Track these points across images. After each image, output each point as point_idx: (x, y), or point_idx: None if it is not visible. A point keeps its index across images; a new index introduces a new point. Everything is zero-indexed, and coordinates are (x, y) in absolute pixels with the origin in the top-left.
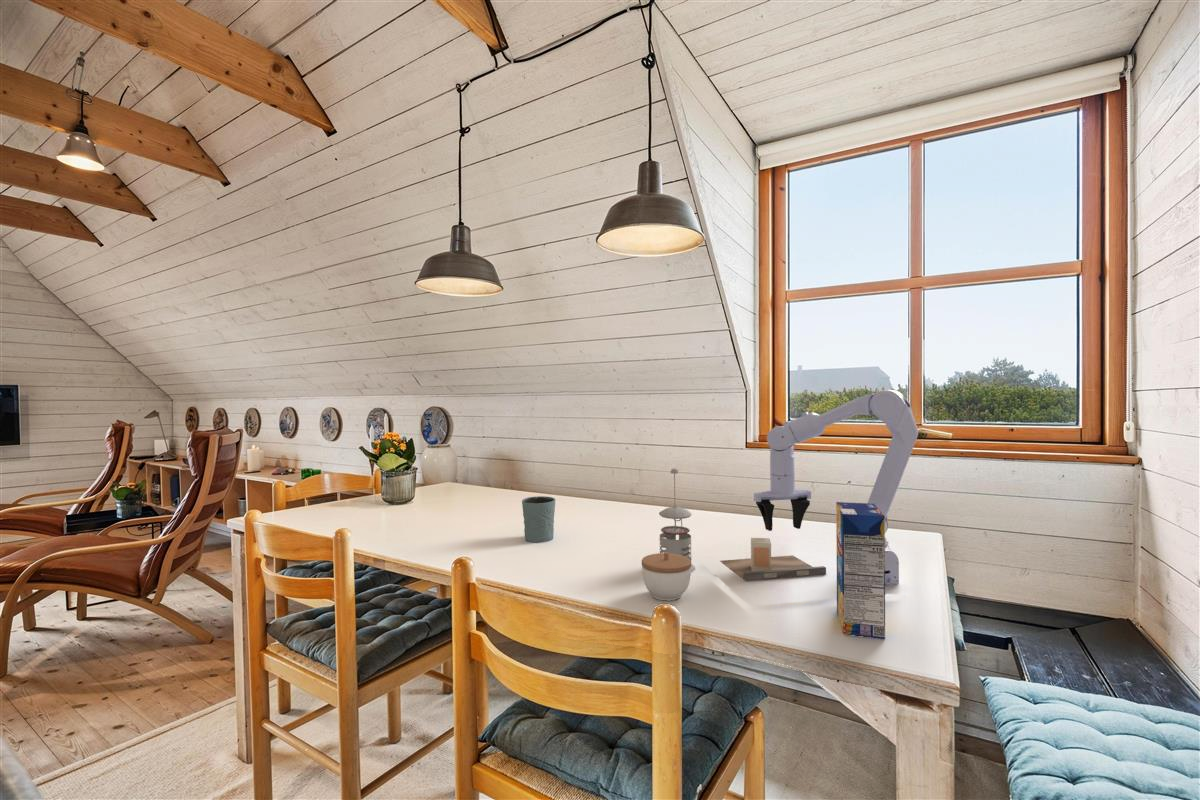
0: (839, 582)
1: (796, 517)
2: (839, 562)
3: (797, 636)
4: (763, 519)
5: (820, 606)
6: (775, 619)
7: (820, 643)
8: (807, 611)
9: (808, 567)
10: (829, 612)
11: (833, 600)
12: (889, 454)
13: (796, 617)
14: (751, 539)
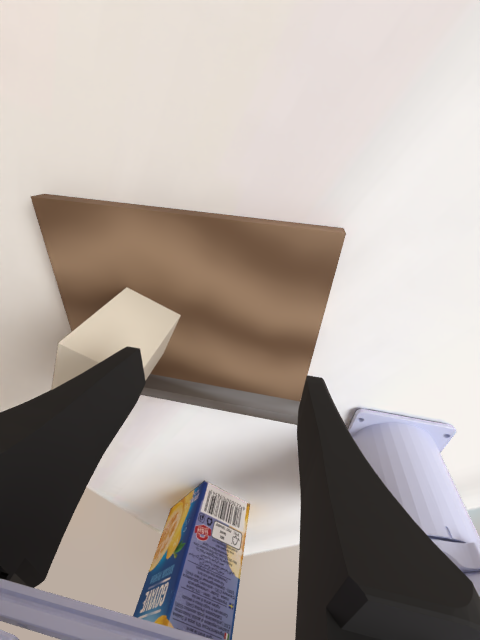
0: (165, 565)
1: (306, 454)
2: (149, 613)
3: (116, 491)
4: (79, 377)
5: (191, 463)
6: (105, 461)
7: (135, 505)
8: (161, 464)
9: (251, 408)
10: (192, 477)
11: (228, 460)
12: None
13: (136, 468)
14: (56, 363)
